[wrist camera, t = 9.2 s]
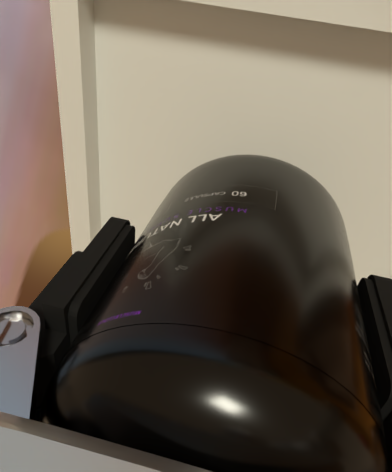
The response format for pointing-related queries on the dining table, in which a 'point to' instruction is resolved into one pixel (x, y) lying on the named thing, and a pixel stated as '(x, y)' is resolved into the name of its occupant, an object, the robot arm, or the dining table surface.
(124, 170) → the tray
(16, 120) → the dining table surface
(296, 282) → the supplement bottle
